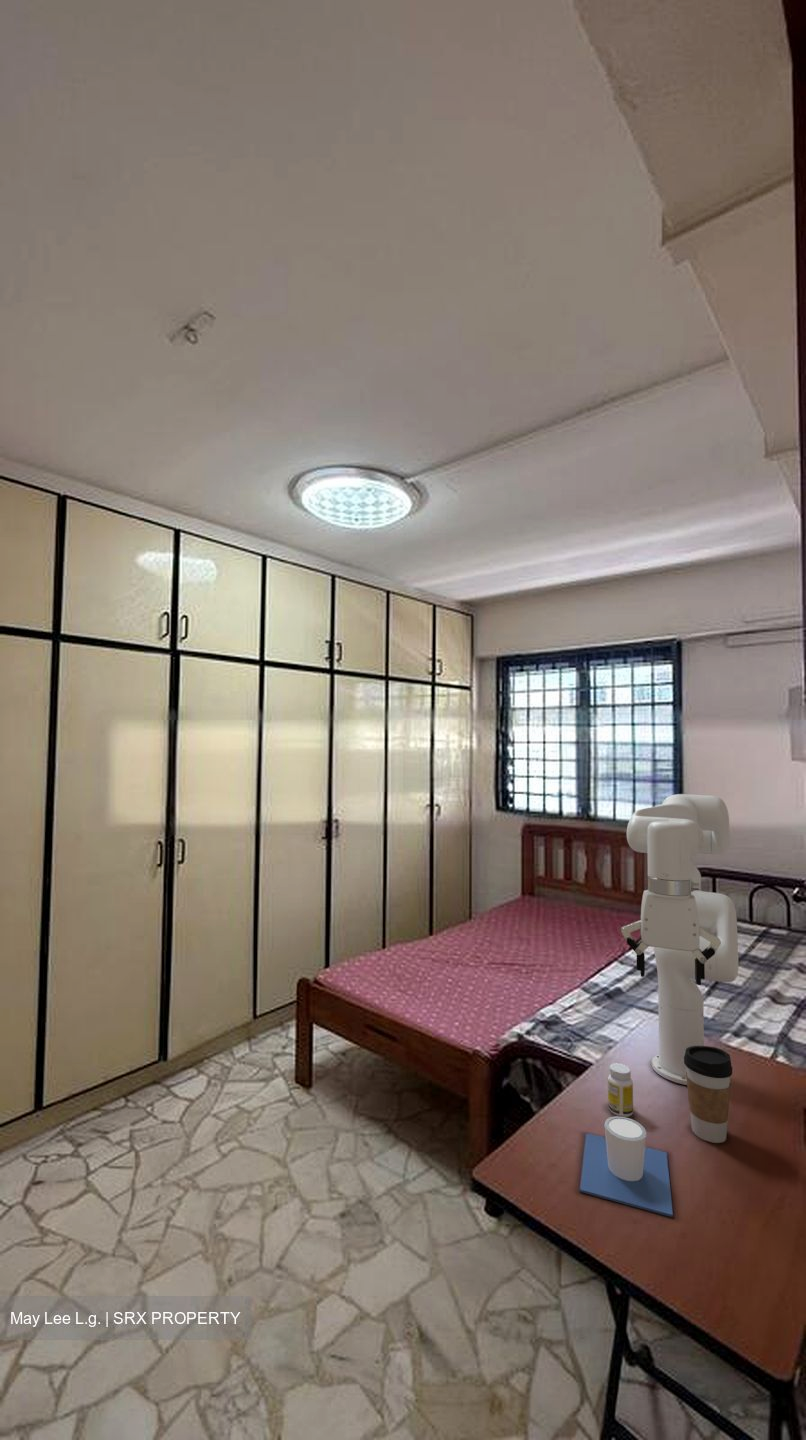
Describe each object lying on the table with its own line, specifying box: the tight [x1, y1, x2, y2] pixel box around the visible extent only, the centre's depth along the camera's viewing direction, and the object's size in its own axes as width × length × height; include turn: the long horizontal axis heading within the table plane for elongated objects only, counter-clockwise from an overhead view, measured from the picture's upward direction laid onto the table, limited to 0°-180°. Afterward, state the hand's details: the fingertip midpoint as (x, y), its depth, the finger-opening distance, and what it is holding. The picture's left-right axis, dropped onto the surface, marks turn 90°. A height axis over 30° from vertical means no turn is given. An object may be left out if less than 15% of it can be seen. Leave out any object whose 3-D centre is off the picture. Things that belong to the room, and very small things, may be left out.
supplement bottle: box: [607, 1062, 634, 1118], centre depth 119 cm, size 5×5×8 cm
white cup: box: [603, 1115, 647, 1181], centre depth 101 cm, size 7×7×7 cm
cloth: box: [579, 1132, 674, 1218], centre depth 101 cm, size 16×14×1 cm
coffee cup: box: [684, 1045, 733, 1144], centre depth 113 cm, size 8×8×15 cm
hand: (669, 978), depth 110 cm, fingers open, 9 cm apart
